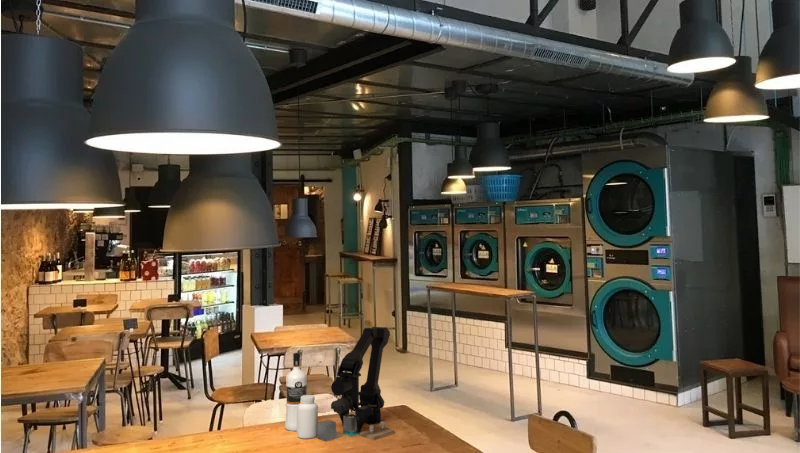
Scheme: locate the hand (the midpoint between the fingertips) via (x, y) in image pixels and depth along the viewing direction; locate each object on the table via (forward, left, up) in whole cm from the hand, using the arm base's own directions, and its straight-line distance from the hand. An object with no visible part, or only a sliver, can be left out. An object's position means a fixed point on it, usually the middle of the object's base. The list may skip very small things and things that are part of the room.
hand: (351, 430), depth 219 cm
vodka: (-22, -10, -2) cm, 24 cm away
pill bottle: (-11, -13, -2) cm, 17 cm away
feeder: (-3, -9, -1) cm, 9 cm away
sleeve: (0, 0, -1) cm, 1 cm away
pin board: (+8, +6, -1) cm, 10 cm away
